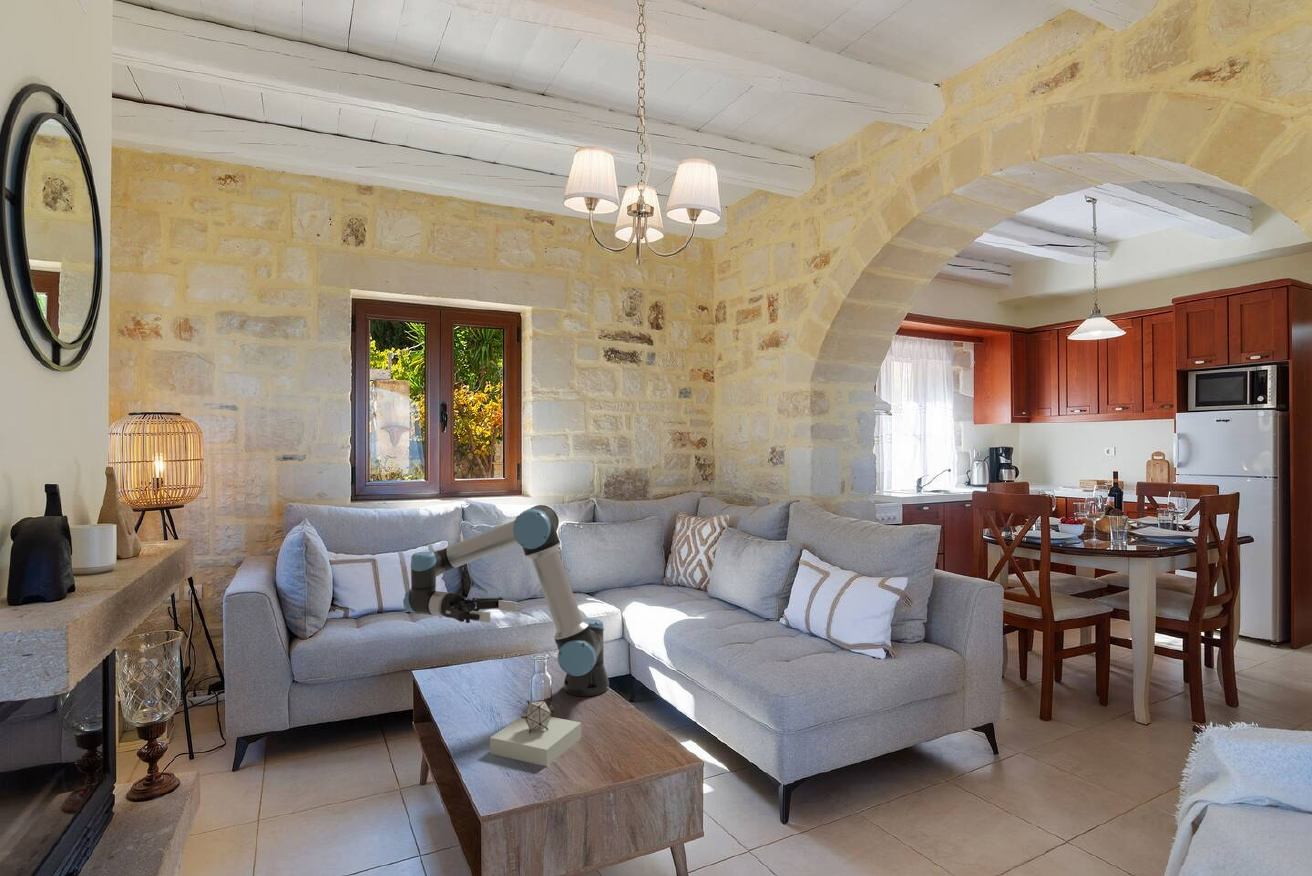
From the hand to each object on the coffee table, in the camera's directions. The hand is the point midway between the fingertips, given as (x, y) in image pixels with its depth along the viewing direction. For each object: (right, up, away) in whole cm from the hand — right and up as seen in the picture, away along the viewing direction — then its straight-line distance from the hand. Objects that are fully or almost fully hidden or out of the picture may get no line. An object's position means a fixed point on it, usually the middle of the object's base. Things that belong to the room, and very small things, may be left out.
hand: (503, 612), depth 212 cm
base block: (+13, -33, -18) cm, 40 cm away
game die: (+13, -28, -18) cm, 36 cm away
